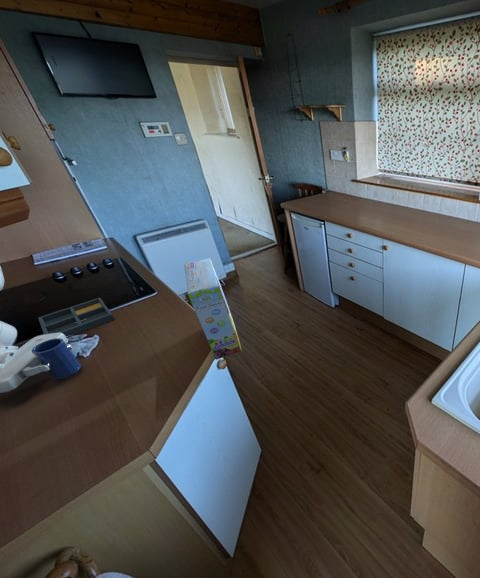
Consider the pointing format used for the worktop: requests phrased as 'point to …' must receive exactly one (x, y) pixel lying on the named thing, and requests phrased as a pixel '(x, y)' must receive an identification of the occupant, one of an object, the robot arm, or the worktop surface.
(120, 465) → the worktop surface
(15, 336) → the robot arm
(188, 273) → the snack box
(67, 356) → the cup
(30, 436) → the worktop surface
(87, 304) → the grey divided tray
